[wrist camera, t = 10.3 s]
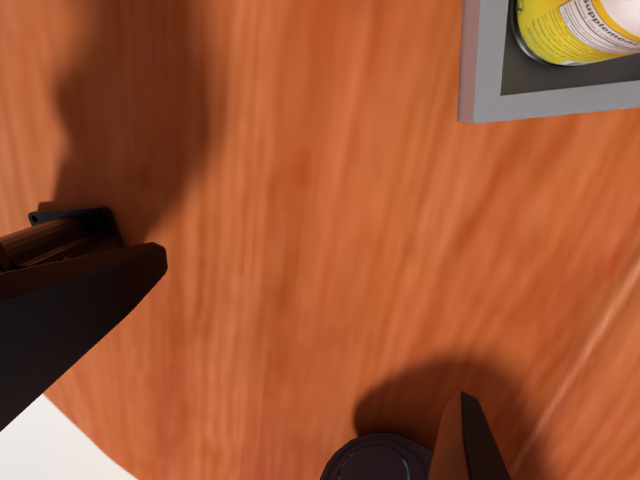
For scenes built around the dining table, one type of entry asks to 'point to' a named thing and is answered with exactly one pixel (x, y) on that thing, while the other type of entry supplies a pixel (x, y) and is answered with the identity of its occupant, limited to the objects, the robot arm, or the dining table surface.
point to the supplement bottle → (576, 30)
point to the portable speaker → (379, 459)
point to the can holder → (531, 74)
